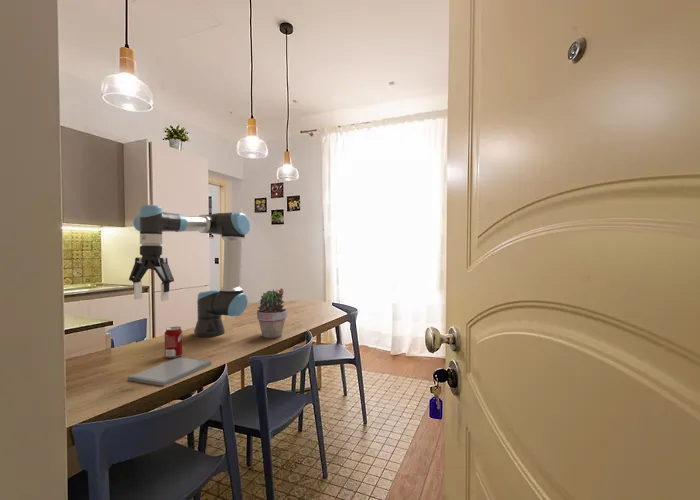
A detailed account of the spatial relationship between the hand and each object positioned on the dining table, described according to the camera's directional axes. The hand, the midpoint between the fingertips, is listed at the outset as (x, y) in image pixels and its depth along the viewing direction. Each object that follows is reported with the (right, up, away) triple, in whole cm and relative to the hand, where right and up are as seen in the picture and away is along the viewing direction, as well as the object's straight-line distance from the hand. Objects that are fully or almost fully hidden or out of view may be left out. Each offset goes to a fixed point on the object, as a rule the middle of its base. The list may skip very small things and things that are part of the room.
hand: (151, 299), depth 130 cm
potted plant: (+36, -26, +45) cm, 63 cm away
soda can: (+3, -26, +11) cm, 28 cm away
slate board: (+12, -26, -7) cm, 29 cm away
